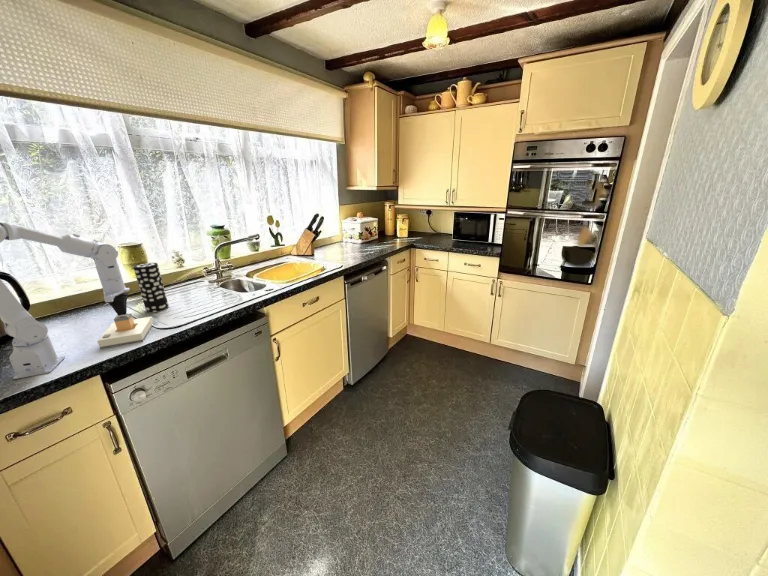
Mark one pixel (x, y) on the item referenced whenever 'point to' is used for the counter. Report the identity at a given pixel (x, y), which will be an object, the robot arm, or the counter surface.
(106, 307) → the counter surface
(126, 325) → the plug
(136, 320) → the socket
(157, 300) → the white-spotted black cylinder
